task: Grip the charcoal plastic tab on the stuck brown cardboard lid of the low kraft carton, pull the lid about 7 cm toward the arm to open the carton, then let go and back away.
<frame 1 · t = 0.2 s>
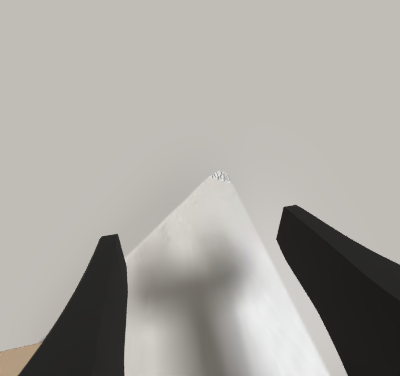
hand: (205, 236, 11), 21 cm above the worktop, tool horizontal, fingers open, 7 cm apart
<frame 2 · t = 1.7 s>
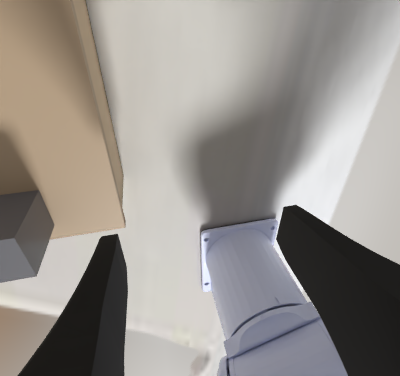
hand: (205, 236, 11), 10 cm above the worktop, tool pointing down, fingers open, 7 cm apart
carton: (16, 87, 16), on the worktop
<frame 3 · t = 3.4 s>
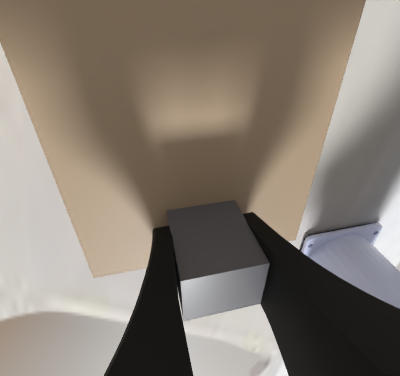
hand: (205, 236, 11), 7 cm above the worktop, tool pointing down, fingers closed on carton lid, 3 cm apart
carton lid: (212, 136, 8), point 7 cm above the worktop, slide at 0.0 cm, touching gripper
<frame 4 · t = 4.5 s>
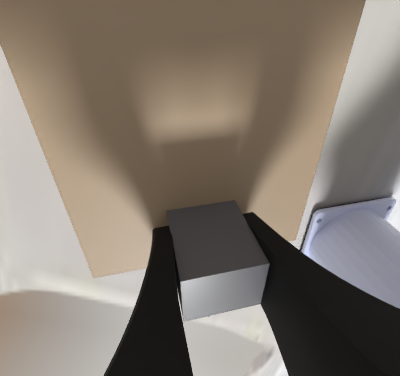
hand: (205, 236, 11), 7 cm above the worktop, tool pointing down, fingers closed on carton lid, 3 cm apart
carton lid: (212, 136, 8), point 7 cm above the worktop, slide at 3.1 cm, touching gripper
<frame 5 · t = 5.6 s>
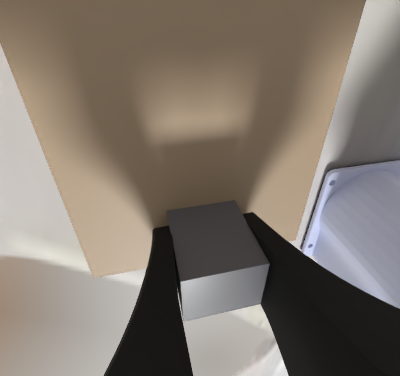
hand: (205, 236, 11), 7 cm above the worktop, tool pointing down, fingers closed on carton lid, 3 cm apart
carton lid: (212, 136, 8), point 7 cm above the worktop, slide at 7.0 cm, touching gripper
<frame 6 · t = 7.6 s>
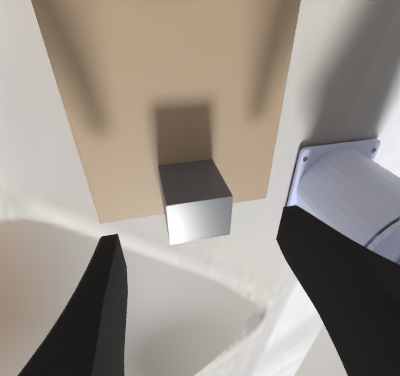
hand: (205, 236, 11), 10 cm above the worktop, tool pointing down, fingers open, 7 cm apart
carton lid: (188, 99, 11), point 7 cm above the worktop, slide at 7.0 cm
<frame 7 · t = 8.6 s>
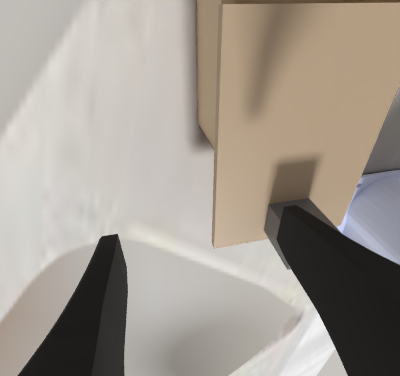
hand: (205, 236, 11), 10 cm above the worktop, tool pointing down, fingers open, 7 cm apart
carton lid: (315, 162, 14), point 7 cm above the worktop, slide at 7.0 cm
carton: (275, 7, 16), on the worktop
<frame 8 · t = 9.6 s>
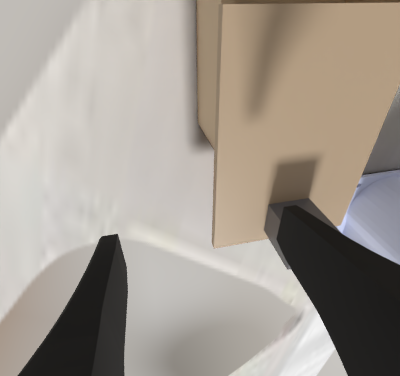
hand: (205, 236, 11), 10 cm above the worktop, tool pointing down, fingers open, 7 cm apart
carton lid: (315, 162, 14), point 7 cm above the worktop, slide at 7.0 cm
carton: (275, 7, 16), on the worktop
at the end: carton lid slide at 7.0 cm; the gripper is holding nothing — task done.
